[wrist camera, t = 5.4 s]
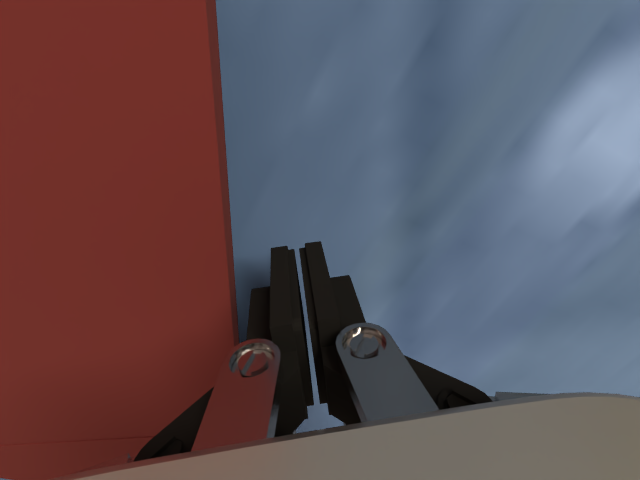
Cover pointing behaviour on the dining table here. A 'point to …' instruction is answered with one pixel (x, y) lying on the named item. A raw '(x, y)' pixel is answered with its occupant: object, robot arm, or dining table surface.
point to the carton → (109, 227)
